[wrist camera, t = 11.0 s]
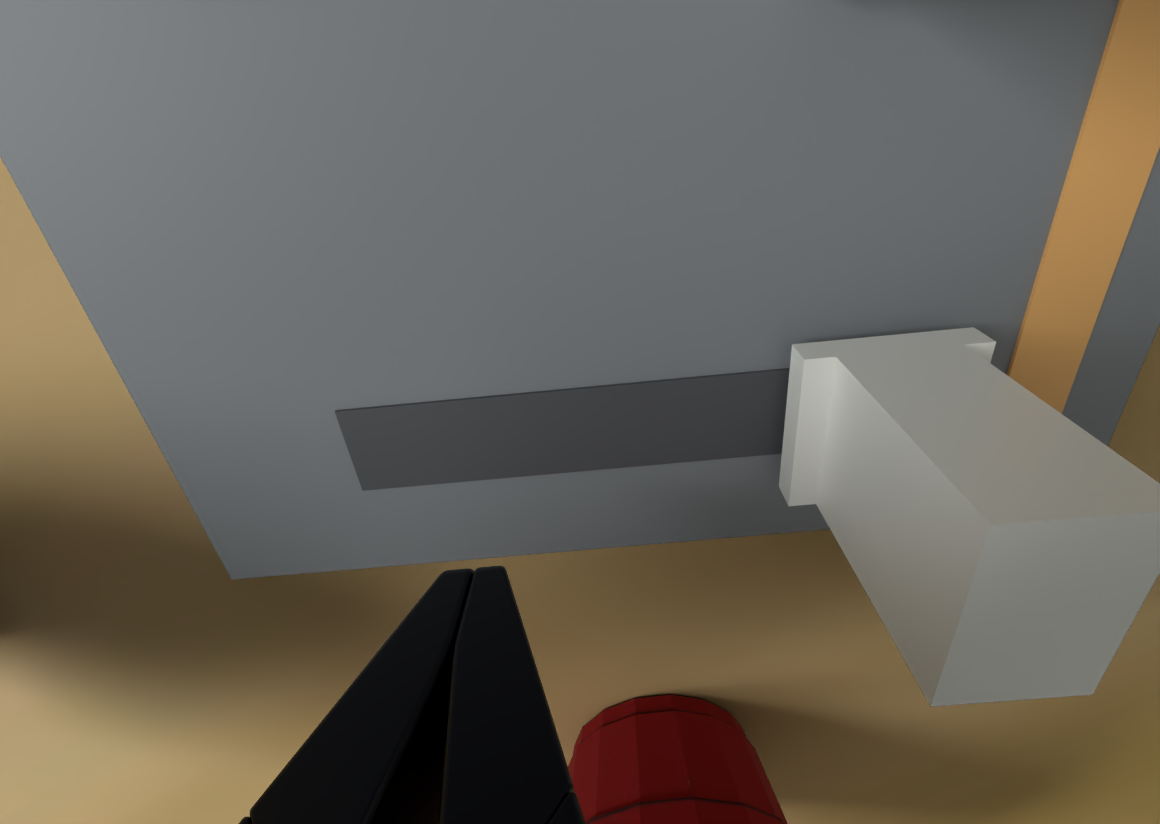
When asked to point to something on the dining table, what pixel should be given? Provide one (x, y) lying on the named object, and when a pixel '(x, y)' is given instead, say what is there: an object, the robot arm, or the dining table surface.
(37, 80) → the breaker panel
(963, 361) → the block
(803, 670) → the dining table surface
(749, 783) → the plastic cup
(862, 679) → the dining table surface
